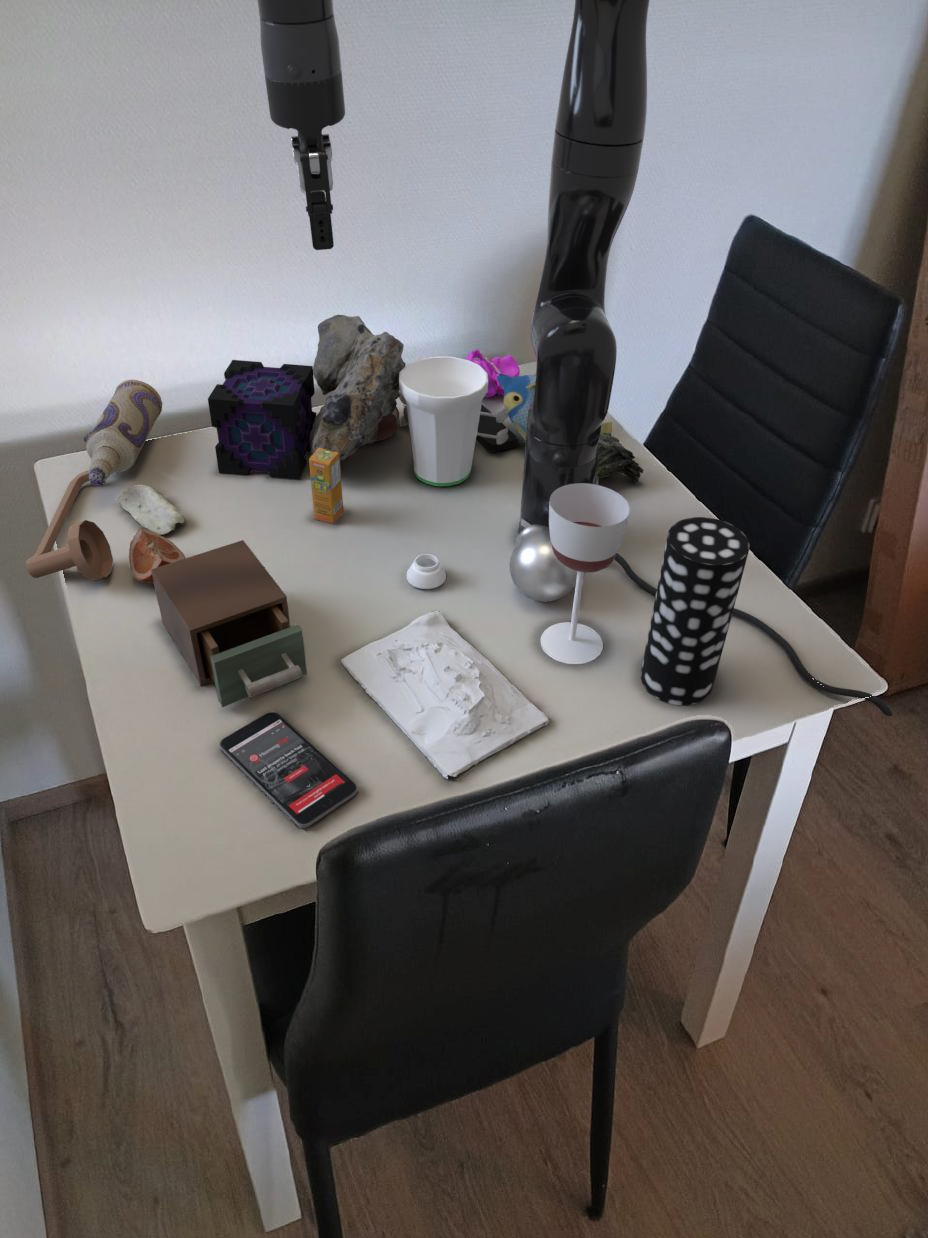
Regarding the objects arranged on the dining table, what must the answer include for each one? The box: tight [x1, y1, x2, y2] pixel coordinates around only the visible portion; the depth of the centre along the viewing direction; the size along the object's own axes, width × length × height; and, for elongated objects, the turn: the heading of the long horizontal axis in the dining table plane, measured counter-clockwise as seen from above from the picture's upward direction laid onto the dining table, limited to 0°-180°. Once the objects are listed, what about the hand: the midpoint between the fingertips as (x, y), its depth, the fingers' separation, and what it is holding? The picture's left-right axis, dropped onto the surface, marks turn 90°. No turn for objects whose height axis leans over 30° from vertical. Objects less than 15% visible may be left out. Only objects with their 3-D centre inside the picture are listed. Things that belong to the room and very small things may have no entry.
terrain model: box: [340, 610, 550, 780], centre depth 113 cm, size 17×23×5 cm
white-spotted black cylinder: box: [640, 516, 750, 706], centre depth 110 cm, size 8×8×20 cm
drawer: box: [197, 605, 308, 708], centre depth 112 cm, size 15×10×7 cm, turn 32°
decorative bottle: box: [83, 379, 164, 486], centre depth 146 cm, size 26×8×7 cm, turn 1°
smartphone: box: [219, 710, 358, 829], centre depth 104 cm, size 7×1×15 cm
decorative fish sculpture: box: [497, 373, 613, 441], centre depth 154 cm, size 12×20×15 cm
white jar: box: [406, 553, 447, 590], centre depth 128 cm, size 5×3×5 cm
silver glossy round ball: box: [509, 525, 577, 602], centre depth 125 cm, size 9×10×10 cm
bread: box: [374, 406, 400, 442], centre depth 156 cm, size 11×11×5 cm
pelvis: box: [465, 349, 521, 398], centre depth 165 cm, size 12×10×7 cm
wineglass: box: [539, 483, 631, 665], centre depth 114 cm, size 8×9×20 cm
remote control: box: [476, 403, 518, 453], centre depth 158 cm, size 5×2×15 cm
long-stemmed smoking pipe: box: [25, 469, 114, 581], centre depth 133 cm, size 25×9×8 cm, turn 2°
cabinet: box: [151, 539, 291, 687], centre depth 117 cm, size 12×11×8 cm
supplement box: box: [308, 448, 345, 525], centre depth 136 cm, size 3×3×10 cm
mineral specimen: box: [595, 433, 644, 483], centre depth 147 cm, size 15×13×10 cm
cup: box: [399, 355, 488, 487], centre depth 144 cm, size 12×12×15 cm
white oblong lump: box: [117, 484, 187, 536], centre depth 138 cm, size 12×5×4 cm
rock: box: [309, 314, 407, 462], centre depth 144 cm, size 25×21×15 cm
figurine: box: [398, 391, 509, 444], centre depth 154 cm, size 7×6×18 cm
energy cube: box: [207, 359, 317, 481], centre depth 147 cm, size 12×12×12 cm
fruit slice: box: [128, 526, 186, 584], centre depth 127 cm, size 8×7×5 cm
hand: (321, 232), depth 109 cm, fingers open, 8 cm apart
